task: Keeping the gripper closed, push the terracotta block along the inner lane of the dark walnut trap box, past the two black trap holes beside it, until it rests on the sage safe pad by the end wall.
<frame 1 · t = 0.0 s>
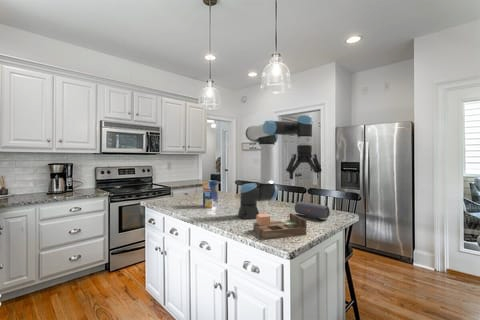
hand: (304, 185, 126), 28 cm above the countertop, tool pointing down, fingers open, 13 cm apart
bluetooth speaker: (311, 217, 168), on the countertop
block: (263, 224, 137), point 4 cm above the countertop, touching trap box
trap box: (278, 231, 135), on the countertop
beverage box: (210, 206, 201), on the countertop
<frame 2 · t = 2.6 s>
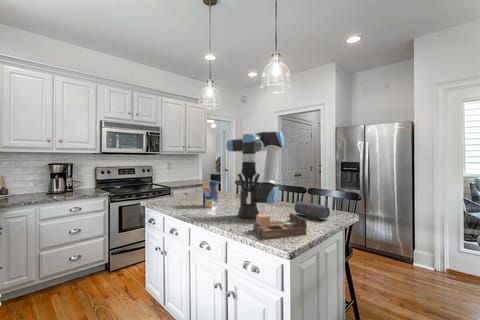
hand: (248, 203, 133), 17 cm above the countertop, tool pointing down, fingers closed
nothing on the countertop moved.
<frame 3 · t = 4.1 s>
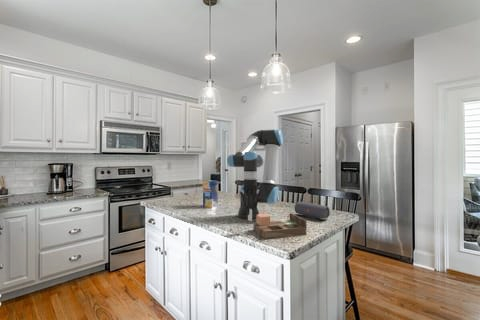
hand: (250, 220, 134), 7 cm above the countertop, tool pointing down, fingers closed
nothing on the countertop moved.
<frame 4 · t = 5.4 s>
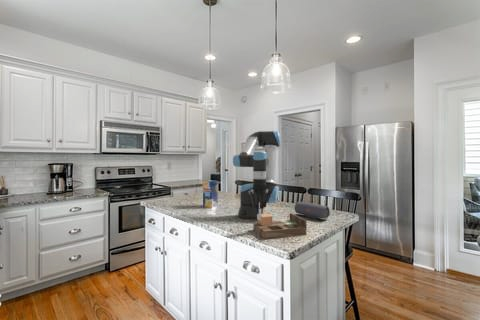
hand: (259, 219, 136), 7 cm above the countertop, tool pointing down, fingers closed
block: (265, 223, 137), point 4 cm above the countertop, touching trap box
everything else where it was.
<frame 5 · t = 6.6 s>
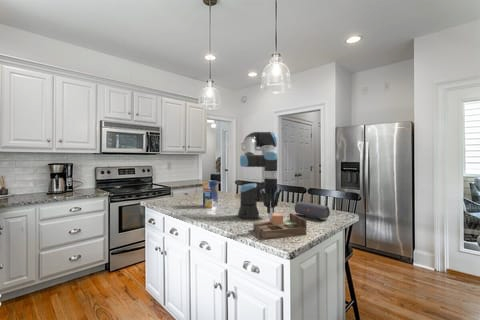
hand: (270, 218, 138), 7 cm above the countertop, tool pointing down, fingers closed
block: (276, 222, 139), point 4 cm above the countertop, touching gripper
everything else where it was.
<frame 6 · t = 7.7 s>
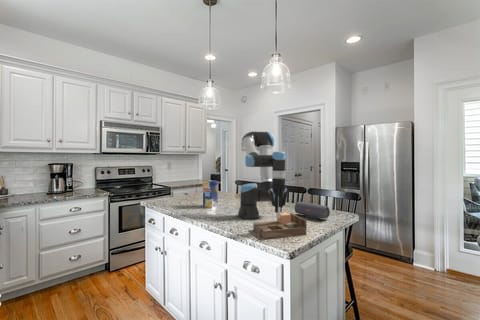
hand: (278, 217, 139), 7 cm above the countertop, tool pointing down, fingers closed
block: (283, 222, 141), point 4 cm above the countertop
everything else where it was.
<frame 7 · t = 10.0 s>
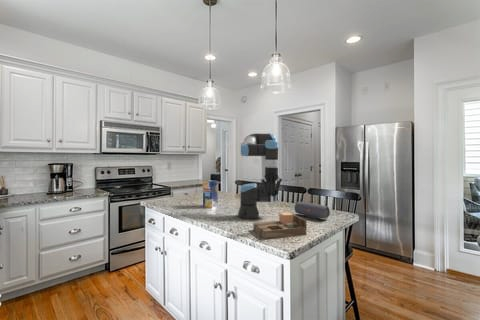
hand: (271, 207, 138), 13 cm above the countertop, tool pointing down, fingers closed
block: (286, 222, 141), point 4 cm above the countertop, touching trap box
everything else where it was.
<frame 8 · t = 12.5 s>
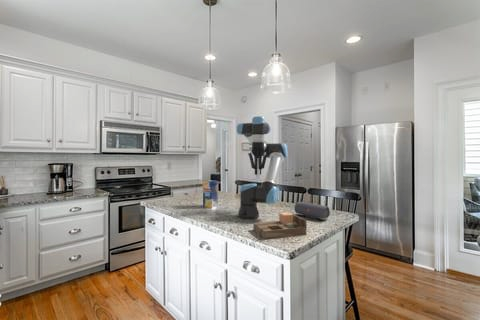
hand: (257, 179, 147), 28 cm above the countertop, tool pointing down, fingers closed
nothing on the countertop moved.
at the end: block inside the target area on the trap box (0.6 cm from its centre), point 4.0 cm above the trap box's base; block point 4.0 cm above the countertop; block tilted 0° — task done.
